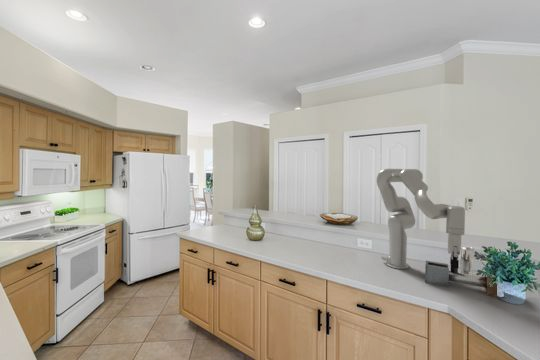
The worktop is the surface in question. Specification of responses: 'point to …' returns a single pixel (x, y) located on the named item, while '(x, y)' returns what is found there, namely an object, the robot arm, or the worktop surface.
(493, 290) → the socket
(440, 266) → the sleeve
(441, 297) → the worktop surface
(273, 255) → the worktop surface
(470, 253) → the beer glass
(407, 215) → the robot arm
